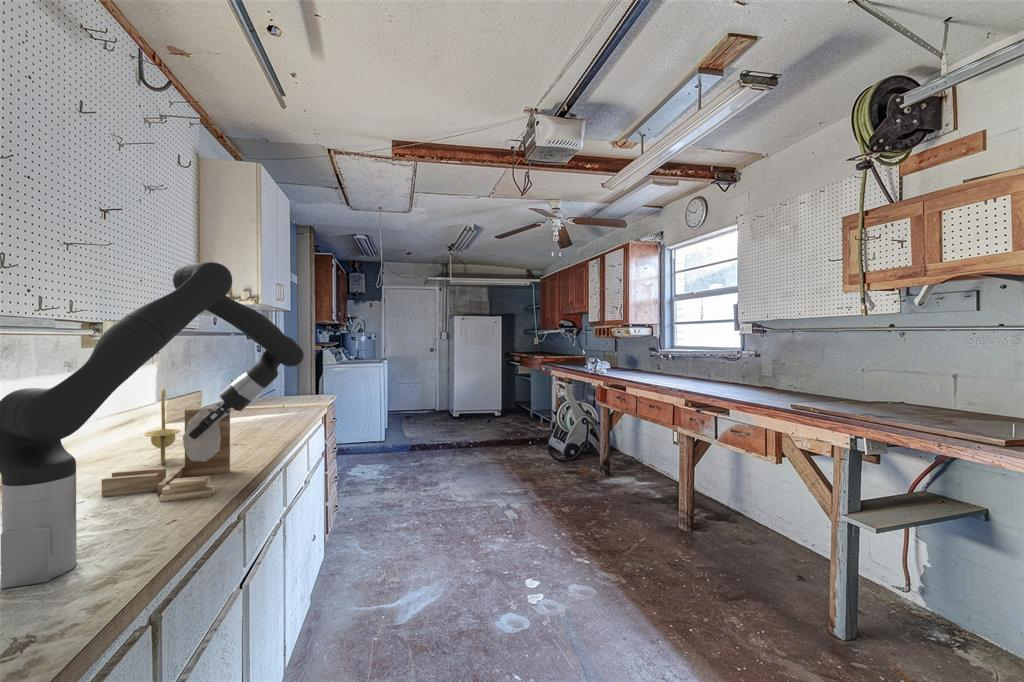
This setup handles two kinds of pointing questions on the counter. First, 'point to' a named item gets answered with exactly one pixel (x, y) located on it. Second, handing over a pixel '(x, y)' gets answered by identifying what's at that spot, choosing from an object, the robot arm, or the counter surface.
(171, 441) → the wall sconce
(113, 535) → the counter surface
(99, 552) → the counter surface
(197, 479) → the offcut stack
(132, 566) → the counter surface
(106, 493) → the holder
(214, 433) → the stone tool
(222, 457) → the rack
